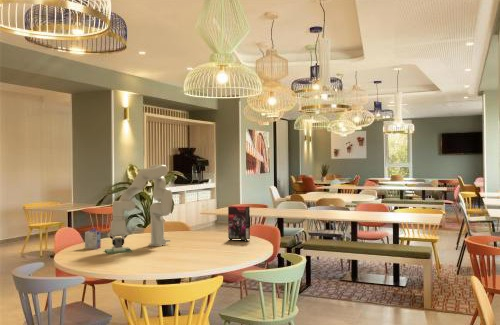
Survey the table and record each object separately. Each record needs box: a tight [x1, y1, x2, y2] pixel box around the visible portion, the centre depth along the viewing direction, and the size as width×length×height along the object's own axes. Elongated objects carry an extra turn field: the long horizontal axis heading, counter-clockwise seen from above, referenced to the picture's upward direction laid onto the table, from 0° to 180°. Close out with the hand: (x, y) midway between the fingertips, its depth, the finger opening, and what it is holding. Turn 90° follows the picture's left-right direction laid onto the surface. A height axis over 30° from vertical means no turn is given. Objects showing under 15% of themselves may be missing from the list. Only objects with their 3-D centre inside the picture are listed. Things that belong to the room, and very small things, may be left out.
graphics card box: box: [227, 205, 251, 240], centre depth 356 cm, size 17×7×27 cm, turn 58°
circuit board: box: [104, 245, 133, 255], centre depth 310 cm, size 16×13×3 cm
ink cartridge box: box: [84, 227, 102, 250], centre depth 323 cm, size 10×6×14 cm, turn 78°
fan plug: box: [114, 236, 123, 248], centre depth 308 cm, size 4×9×8 cm, turn 27°
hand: (118, 244), depth 310 cm, fingers open, 5 cm apart
